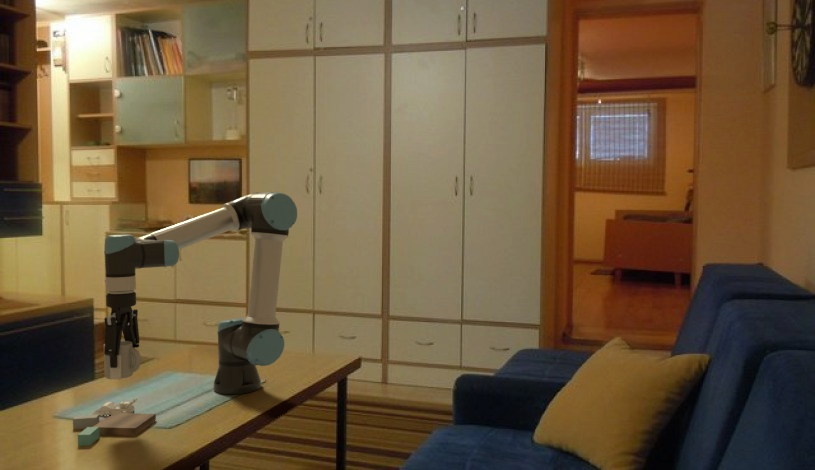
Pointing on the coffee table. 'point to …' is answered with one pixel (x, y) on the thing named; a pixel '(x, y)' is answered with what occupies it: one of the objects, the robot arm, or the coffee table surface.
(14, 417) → the coffee table surface
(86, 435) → the teal brick
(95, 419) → the grey brick
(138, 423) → the walnut block
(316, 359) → the coffee table surface
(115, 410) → the toy car
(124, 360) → the cup
